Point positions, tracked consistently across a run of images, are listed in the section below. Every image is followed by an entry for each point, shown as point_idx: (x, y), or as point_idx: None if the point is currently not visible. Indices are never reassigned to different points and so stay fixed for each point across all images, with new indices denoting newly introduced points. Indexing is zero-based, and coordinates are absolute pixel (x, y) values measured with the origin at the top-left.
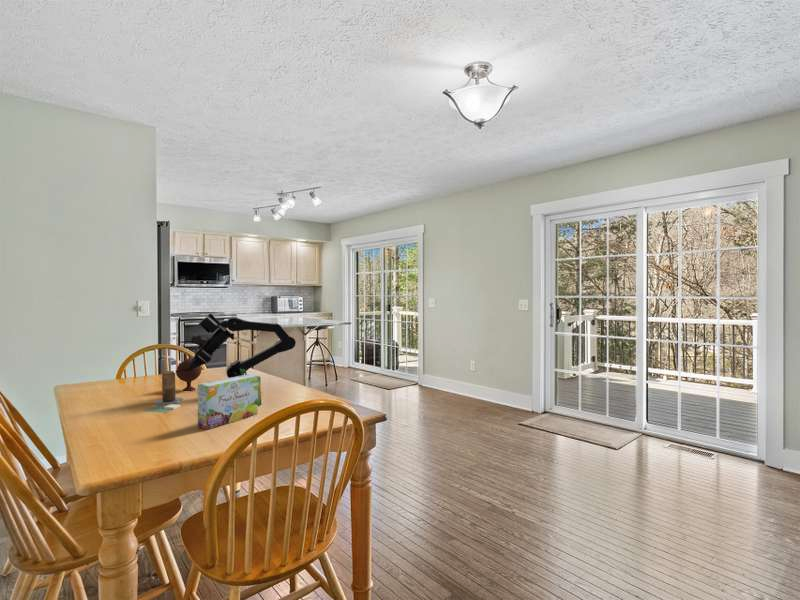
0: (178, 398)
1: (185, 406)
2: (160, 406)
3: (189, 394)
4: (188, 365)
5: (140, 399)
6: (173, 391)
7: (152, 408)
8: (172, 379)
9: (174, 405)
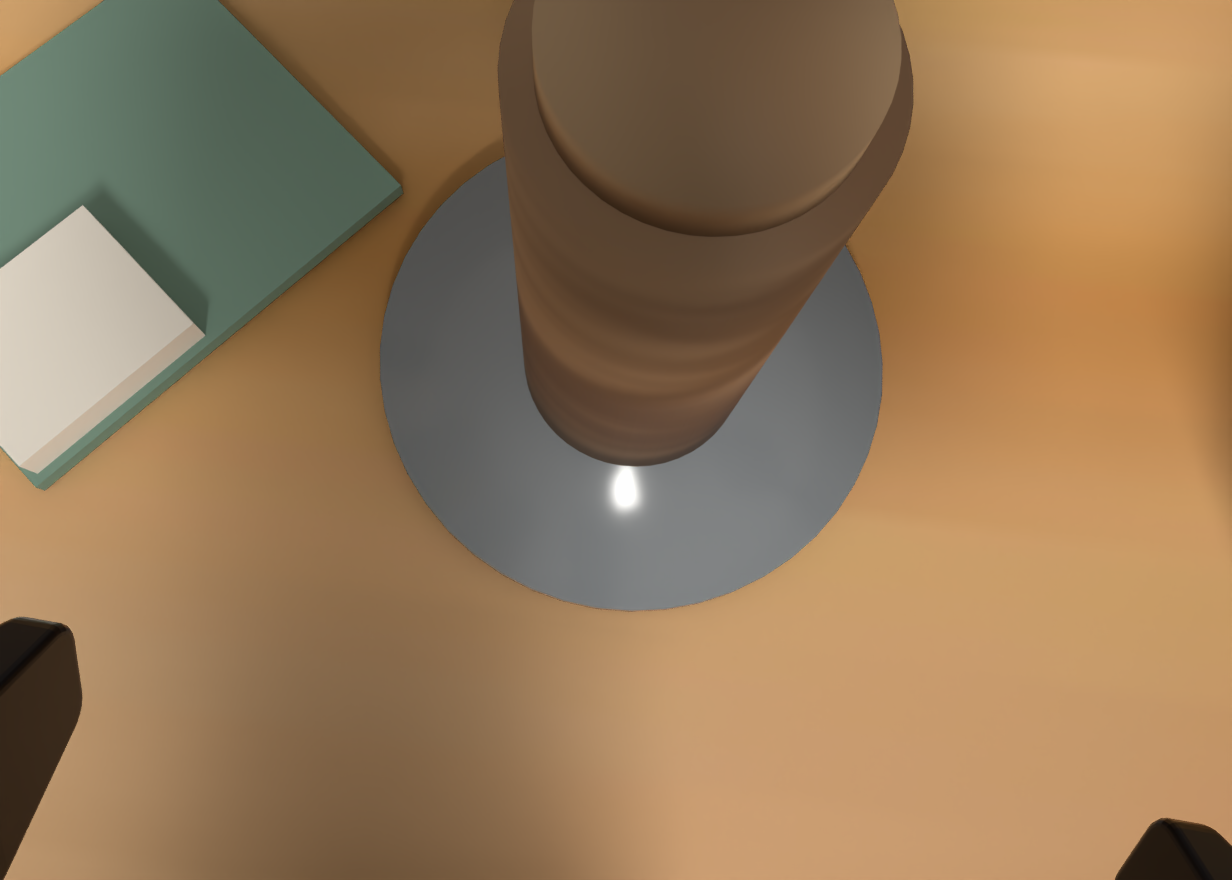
0: (715, 529)
1: (99, 574)
2: (309, 194)
3: (1088, 787)
4: (1154, 831)
5: (1107, 9)
6: (548, 373)
7: (252, 77)
8: (524, 240)
9: (45, 371)
